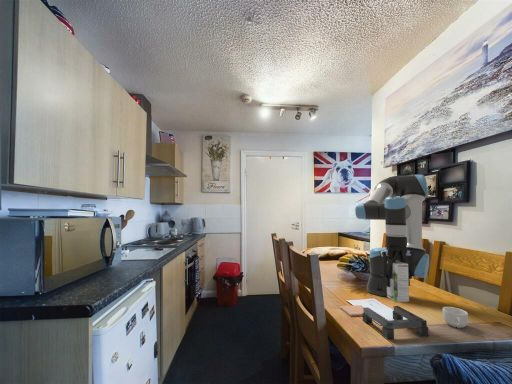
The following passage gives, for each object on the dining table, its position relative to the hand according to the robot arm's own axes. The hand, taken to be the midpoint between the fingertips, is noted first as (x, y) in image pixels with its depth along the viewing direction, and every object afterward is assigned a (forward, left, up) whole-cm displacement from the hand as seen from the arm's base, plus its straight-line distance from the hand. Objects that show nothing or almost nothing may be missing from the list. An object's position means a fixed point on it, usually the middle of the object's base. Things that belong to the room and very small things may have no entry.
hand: (397, 294), depth 100 cm
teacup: (-18, +7, -10) cm, 22 cm away
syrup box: (0, 0, -2) cm, 2 cm away
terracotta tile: (+12, -11, -10) cm, 19 cm away
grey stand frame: (+6, +5, -10) cm, 13 cm away
